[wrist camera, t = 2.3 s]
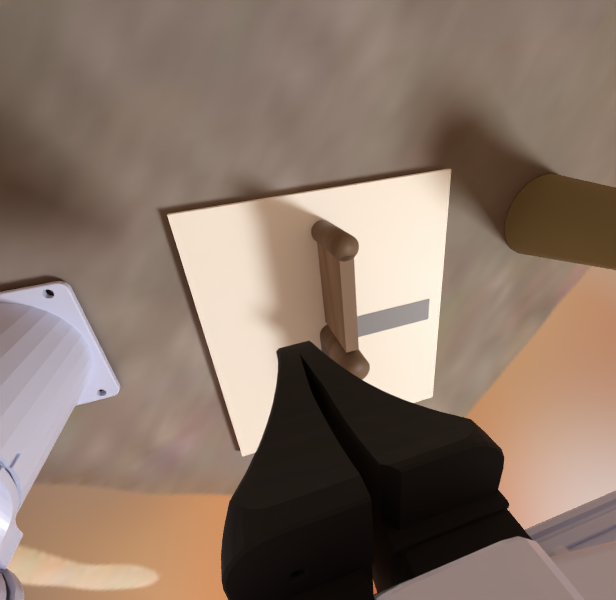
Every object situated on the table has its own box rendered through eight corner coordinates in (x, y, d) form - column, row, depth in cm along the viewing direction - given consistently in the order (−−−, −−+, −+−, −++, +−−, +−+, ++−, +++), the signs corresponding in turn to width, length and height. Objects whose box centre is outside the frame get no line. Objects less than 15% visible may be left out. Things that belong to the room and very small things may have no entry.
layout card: (241, 451, 26) (242, 456, 26) (168, 213, 17) (166, 215, 17) (429, 393, 29) (432, 397, 29) (446, 168, 21) (451, 169, 20)
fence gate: (321, 322, 22) (341, 353, 19) (309, 222, 19) (331, 237, 16) (339, 317, 23) (363, 348, 19) (331, 217, 19) (358, 232, 16)
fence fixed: (329, 418, 27) (349, 465, 23) (318, 325, 23) (341, 362, 19) (349, 412, 27) (372, 457, 23) (342, 320, 23) (369, 354, 19)
